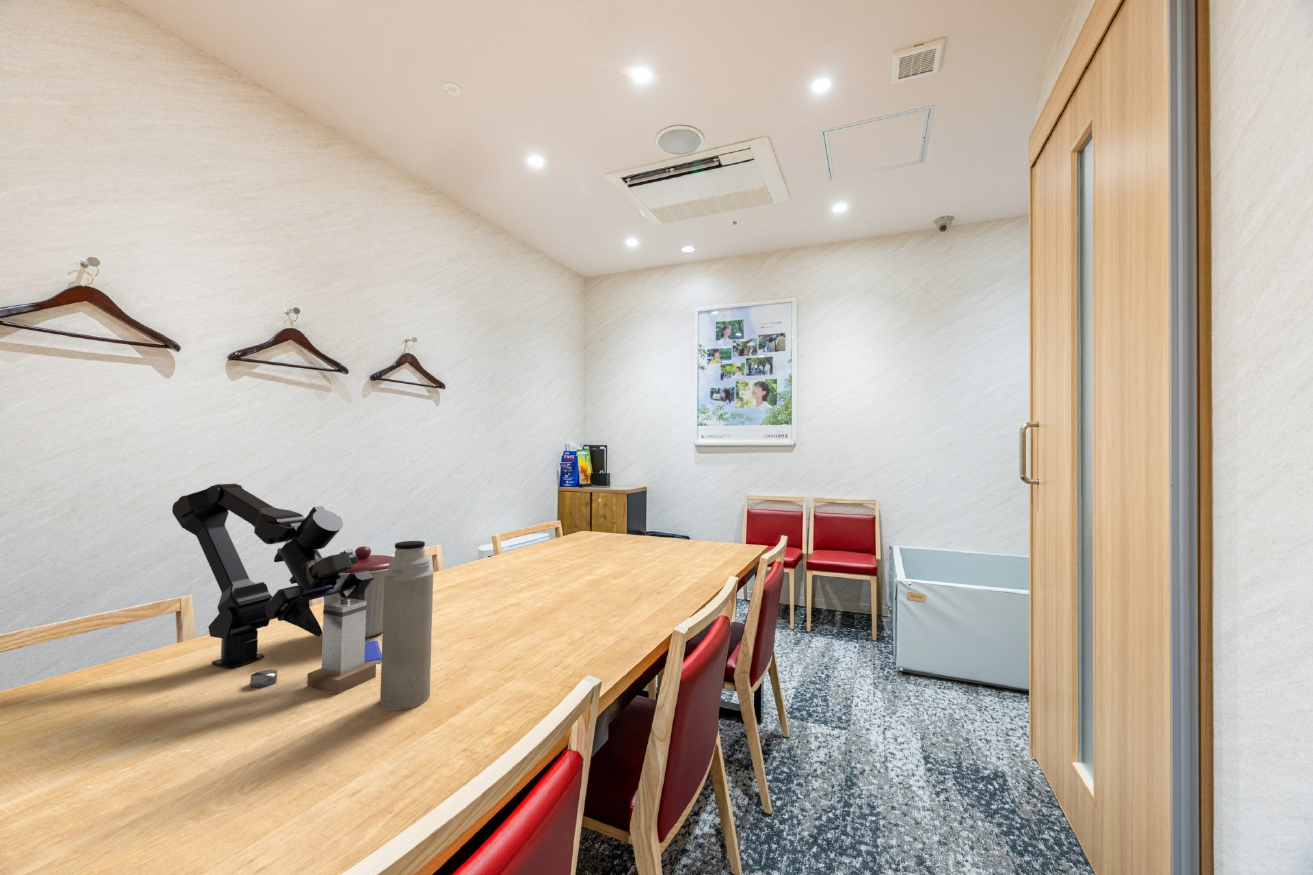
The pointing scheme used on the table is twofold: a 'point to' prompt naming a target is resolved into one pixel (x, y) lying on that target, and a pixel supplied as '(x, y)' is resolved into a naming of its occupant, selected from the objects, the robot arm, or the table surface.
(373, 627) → the canister
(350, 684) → the stand
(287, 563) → the robot arm
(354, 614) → the plate
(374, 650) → the hard drive
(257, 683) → the steel puck
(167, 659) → the table surface
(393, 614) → the thermos bottle
